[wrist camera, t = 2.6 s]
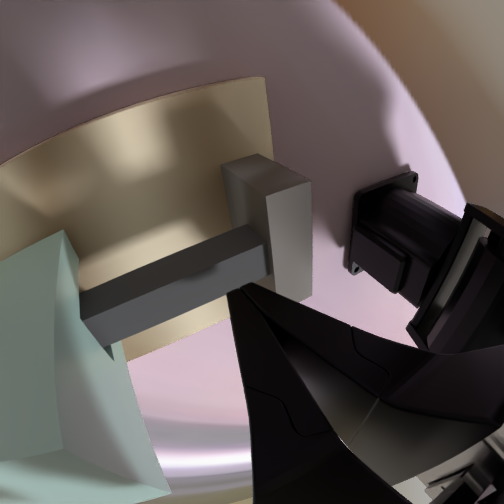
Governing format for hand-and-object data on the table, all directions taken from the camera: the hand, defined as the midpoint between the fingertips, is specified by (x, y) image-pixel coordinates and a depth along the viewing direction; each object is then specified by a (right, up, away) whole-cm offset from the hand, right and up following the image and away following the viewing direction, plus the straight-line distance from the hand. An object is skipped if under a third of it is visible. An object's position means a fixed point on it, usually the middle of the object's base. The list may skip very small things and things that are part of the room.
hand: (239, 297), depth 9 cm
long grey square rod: (-11, -3, -1) cm, 11 cm away
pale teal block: (-8, -1, +1) cm, 8 cm away
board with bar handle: (-12, -2, +1) cm, 12 cm away
